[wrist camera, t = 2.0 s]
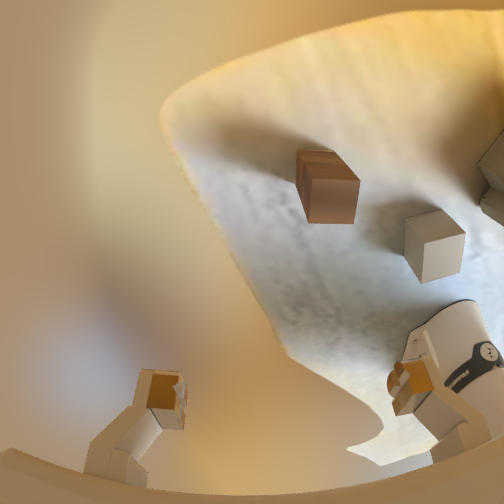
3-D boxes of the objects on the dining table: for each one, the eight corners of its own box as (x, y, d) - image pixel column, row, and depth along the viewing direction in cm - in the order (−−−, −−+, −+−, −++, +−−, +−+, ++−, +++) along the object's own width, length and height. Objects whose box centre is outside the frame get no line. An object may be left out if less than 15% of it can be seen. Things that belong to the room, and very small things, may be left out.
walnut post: (330, 185, 33) (353, 224, 26) (295, 184, 33) (308, 223, 26) (334, 150, 31) (360, 180, 23) (297, 149, 31) (312, 178, 23)
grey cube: (439, 246, 38) (459, 272, 33) (403, 256, 38) (421, 284, 34) (442, 209, 34) (465, 232, 29) (404, 218, 35) (424, 243, 30)
